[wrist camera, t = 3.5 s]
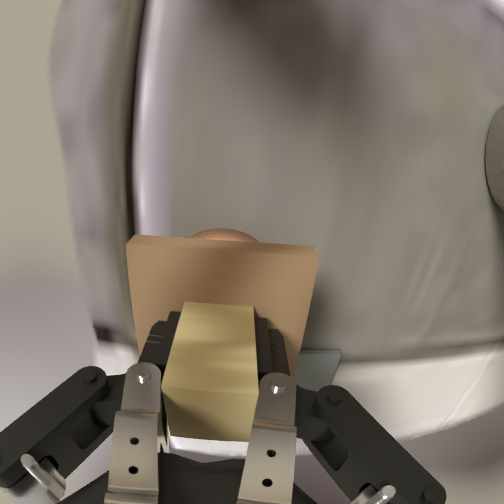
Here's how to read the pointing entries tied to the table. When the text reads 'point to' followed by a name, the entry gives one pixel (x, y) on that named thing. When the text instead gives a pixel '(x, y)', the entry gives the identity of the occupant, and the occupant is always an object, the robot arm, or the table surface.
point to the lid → (218, 322)
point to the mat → (316, 368)
